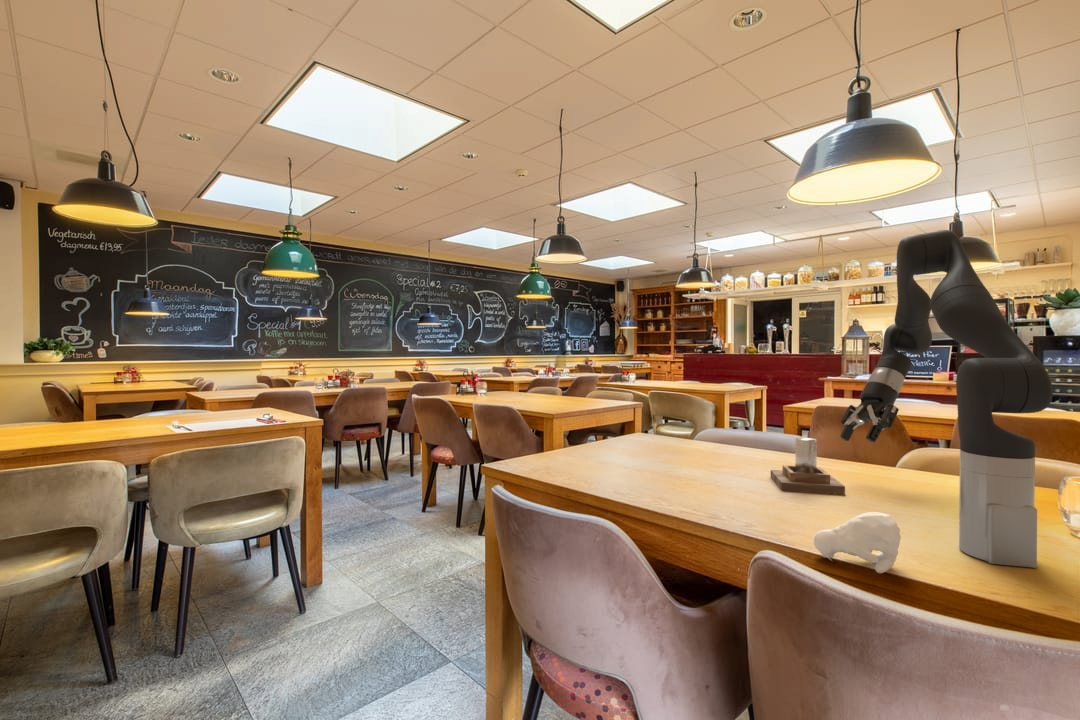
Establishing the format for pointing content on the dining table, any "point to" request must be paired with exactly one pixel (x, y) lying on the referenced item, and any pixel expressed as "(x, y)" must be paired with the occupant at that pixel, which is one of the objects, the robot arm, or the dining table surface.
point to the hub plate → (806, 481)
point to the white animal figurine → (863, 539)
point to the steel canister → (805, 455)
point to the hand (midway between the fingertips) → (856, 439)
